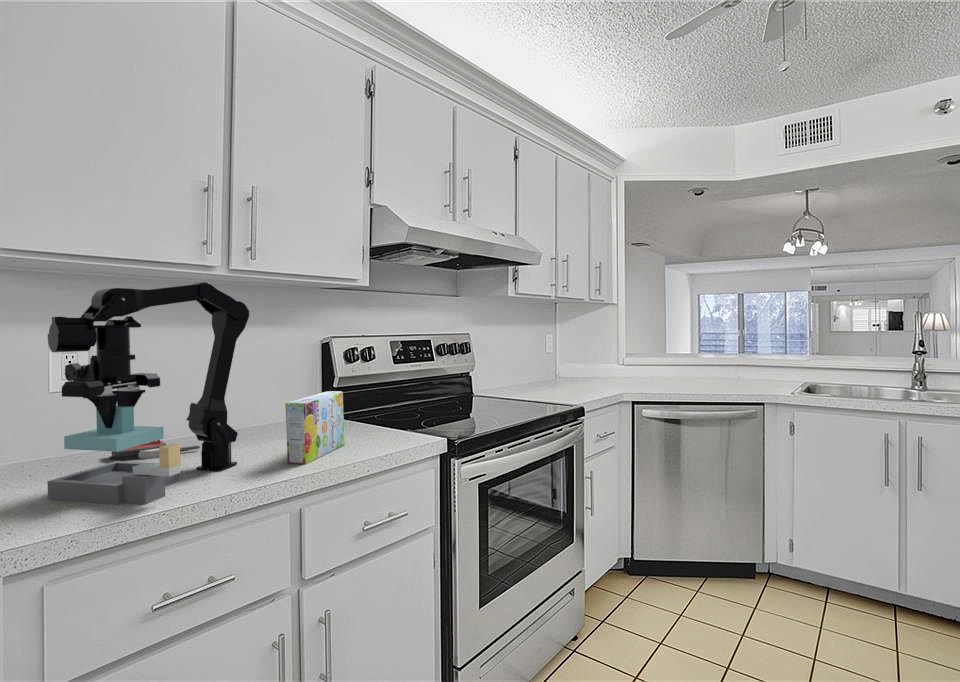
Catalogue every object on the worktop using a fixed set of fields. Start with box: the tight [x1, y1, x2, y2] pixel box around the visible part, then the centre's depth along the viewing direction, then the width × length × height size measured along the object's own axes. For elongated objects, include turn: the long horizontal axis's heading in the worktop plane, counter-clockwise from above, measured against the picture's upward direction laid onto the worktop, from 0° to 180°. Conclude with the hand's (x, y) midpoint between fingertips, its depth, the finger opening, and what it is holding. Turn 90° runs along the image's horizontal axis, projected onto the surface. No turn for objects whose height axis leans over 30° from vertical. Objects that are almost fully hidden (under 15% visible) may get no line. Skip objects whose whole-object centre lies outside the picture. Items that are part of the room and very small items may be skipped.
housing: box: [47, 460, 181, 505], centre depth 114 cm, size 16×21×5 cm
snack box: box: [284, 390, 346, 465], centre depth 145 cm, size 21×6×15 cm, turn 168°
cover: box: [63, 405, 165, 452], centre depth 114 cm, size 12×12×8 cm
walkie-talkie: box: [109, 439, 201, 462], centre depth 145 cm, size 9×4×20 cm
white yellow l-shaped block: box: [132, 443, 182, 477], centre depth 107 cm, size 3×8×6 cm, turn 79°
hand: (115, 426), depth 114 cm, fingers closed on cover, 3 cm apart
